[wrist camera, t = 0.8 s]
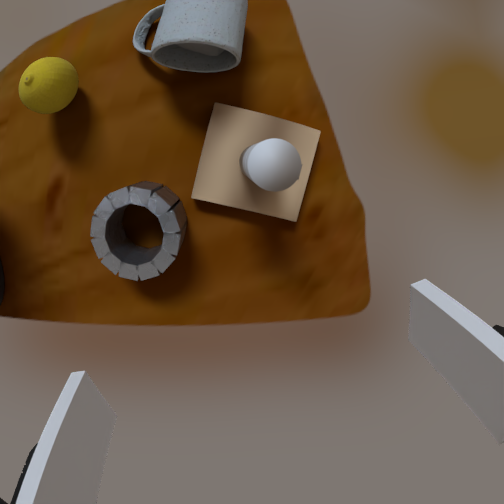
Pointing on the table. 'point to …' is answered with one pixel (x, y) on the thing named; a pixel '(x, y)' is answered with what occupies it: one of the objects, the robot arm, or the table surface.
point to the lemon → (48, 85)
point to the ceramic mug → (195, 34)
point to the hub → (121, 247)
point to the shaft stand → (255, 162)
